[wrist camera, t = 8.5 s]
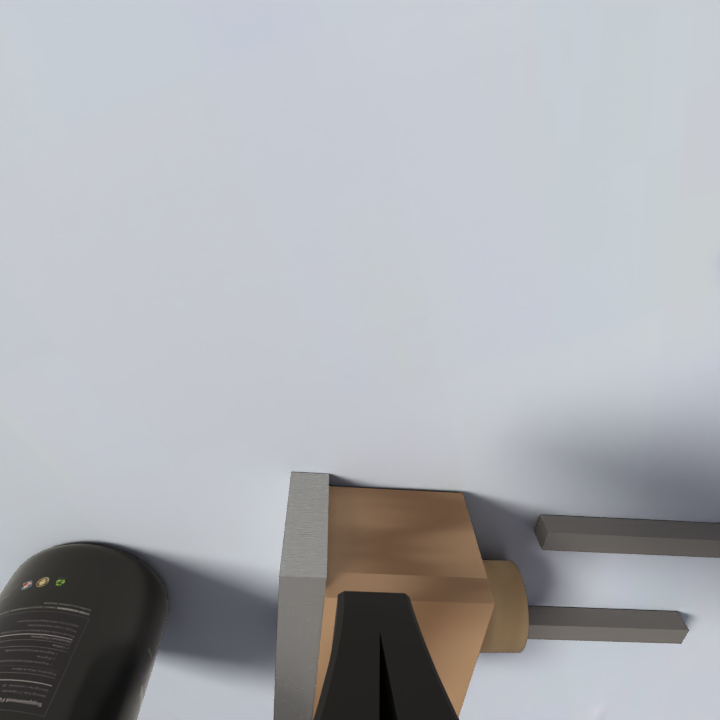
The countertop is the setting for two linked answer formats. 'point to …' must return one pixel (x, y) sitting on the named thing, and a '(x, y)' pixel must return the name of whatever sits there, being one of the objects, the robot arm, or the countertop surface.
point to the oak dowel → (506, 609)
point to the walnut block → (411, 572)
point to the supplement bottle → (79, 635)
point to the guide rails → (626, 540)
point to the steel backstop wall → (301, 596)
